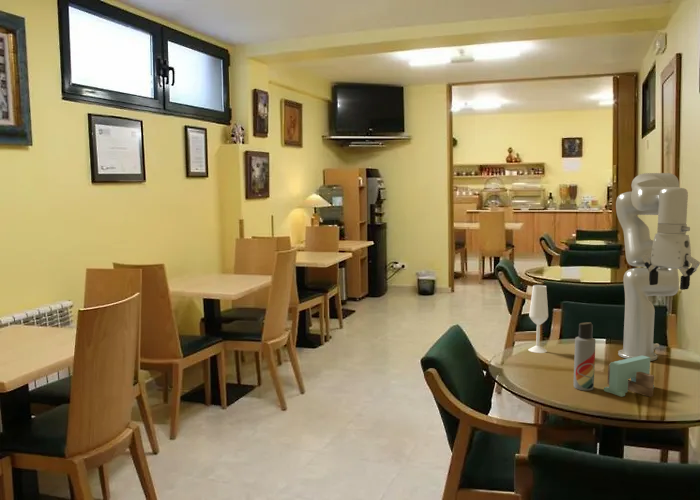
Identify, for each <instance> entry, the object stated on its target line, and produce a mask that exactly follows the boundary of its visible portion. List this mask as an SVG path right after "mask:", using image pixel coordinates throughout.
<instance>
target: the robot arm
mask: <svg viewBox="0 0 700 500" xmlns="http://www.w3.org/2000/svg"><path fill="white" fill-rule="evenodd" d="M630 186H631V191H626V192H623V193H620V194H619V195H618V196H617V197H616V201H615V210H616V211H615V212H616V216H617V219H618V222H619V224H620V227H621V229H622V233H623V238H624V239H623V240H624V251H625V252H624V253H625V259H626V262H627V263H628V265H630V266H632V267H633V268H629V269H628V270H626V271H625V272H624V273H623V274H624V275H623V279H622V280H623V281H622V282H623V288H624V289H623V290H624V321H623V325H624V326H623V341H622V342H623V348H622V349H619V350H617V352H618V353H617V355H618V356H619V357H620V358H623V359H629V358H633V357H638V356H642V355H643V356H647V357H650V362H651V361H653V362H654V361H655V360H657V359H658V354H657V353H656V352H654V350H658V349H660V344H659V343H654V335H655V334H654V331H655V330H654V329H655V315H656V314H655V312H656V311H655V306H654V305H653V303H652V302H651V301H650V300H649V297H652V296H653V297H654V296H657V297H672V296H675V295H677V293H678V292H679V289H680V290H681V291H683V290H688V289H689V288H690V283H691V276H693V274H694V273H696V272H697V270H698V268H699V266H700V261H699V260H698V259H696V258H695V257H692V247H691V240H690V236H689V234H687V232H690V231H691V227H690V226H688V225H687V222H688V219H687V218H688V201H689V200H688V199H689V192H688V190H687V189H686V188H684V187H680V181H679V179H678V177H677V176H676V175H675V174H673V173H671V172H645V173H640V174H638V175H636V176H635V177H634V178H633V179H632V181H631V185H630ZM638 215H639V216H641V215H642V216H645V215H646V216H657V230H656V231H657V232H656V233H655V234H654V238H653V239H651V236H650V235H651V233H650V228H649V226H648V225H647V224H646V222H645V221H644V220H643V219H641V218H640V217H639V216H638ZM679 272H680V273H681V274H682V275H681V276H680V277H679Z"/></svg>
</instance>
